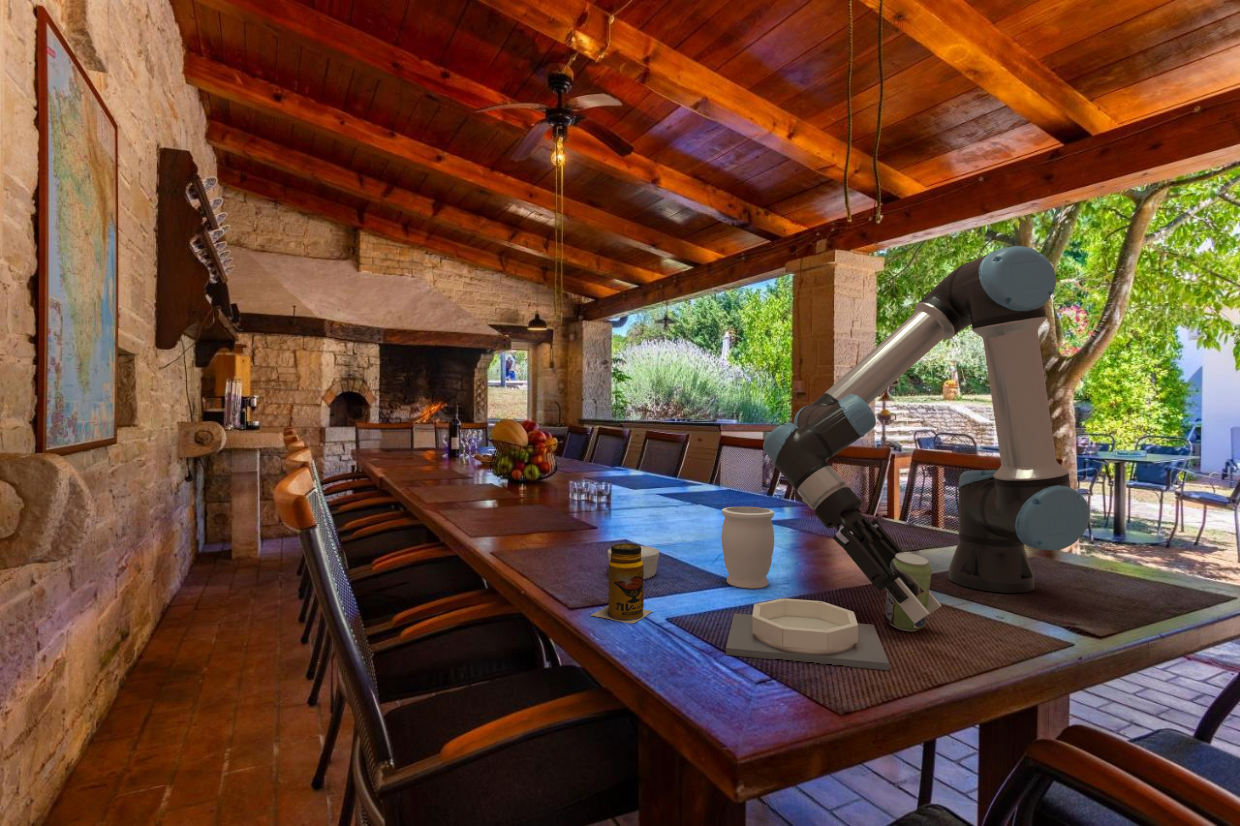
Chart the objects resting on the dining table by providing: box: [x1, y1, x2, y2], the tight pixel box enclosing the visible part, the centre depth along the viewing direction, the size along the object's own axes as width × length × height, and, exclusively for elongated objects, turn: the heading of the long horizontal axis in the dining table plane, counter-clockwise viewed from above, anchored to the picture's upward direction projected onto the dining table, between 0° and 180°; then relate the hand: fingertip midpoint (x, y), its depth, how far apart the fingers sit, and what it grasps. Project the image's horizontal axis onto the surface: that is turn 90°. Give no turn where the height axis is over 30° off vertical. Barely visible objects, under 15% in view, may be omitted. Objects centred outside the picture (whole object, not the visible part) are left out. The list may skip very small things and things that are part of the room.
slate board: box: [725, 612, 890, 672], centre depth 98 cm, size 22×16×1 cm
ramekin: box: [607, 545, 660, 580], centre depth 137 cm, size 11×11×5 cm
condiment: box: [590, 542, 653, 624], centre depth 111 cm, size 7×8×12 cm
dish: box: [751, 598, 859, 655], centre depth 98 cm, size 15×15×3 cm
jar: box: [721, 506, 775, 590], centre depth 130 cm, size 11×10×15 cm
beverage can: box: [883, 552, 932, 632], centre depth 104 cm, size 6×7×12 cm
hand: (928, 614), depth 101 cm, fingers closed on beverage can, 5 cm apart
